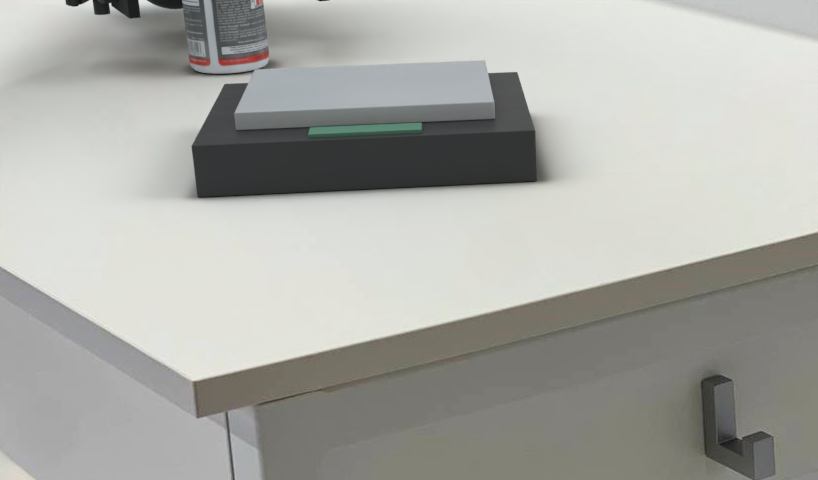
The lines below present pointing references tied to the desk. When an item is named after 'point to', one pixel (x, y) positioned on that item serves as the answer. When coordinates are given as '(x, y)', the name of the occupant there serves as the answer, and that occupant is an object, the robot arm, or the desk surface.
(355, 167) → the scale
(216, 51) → the pill bottle
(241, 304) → the desk surface
